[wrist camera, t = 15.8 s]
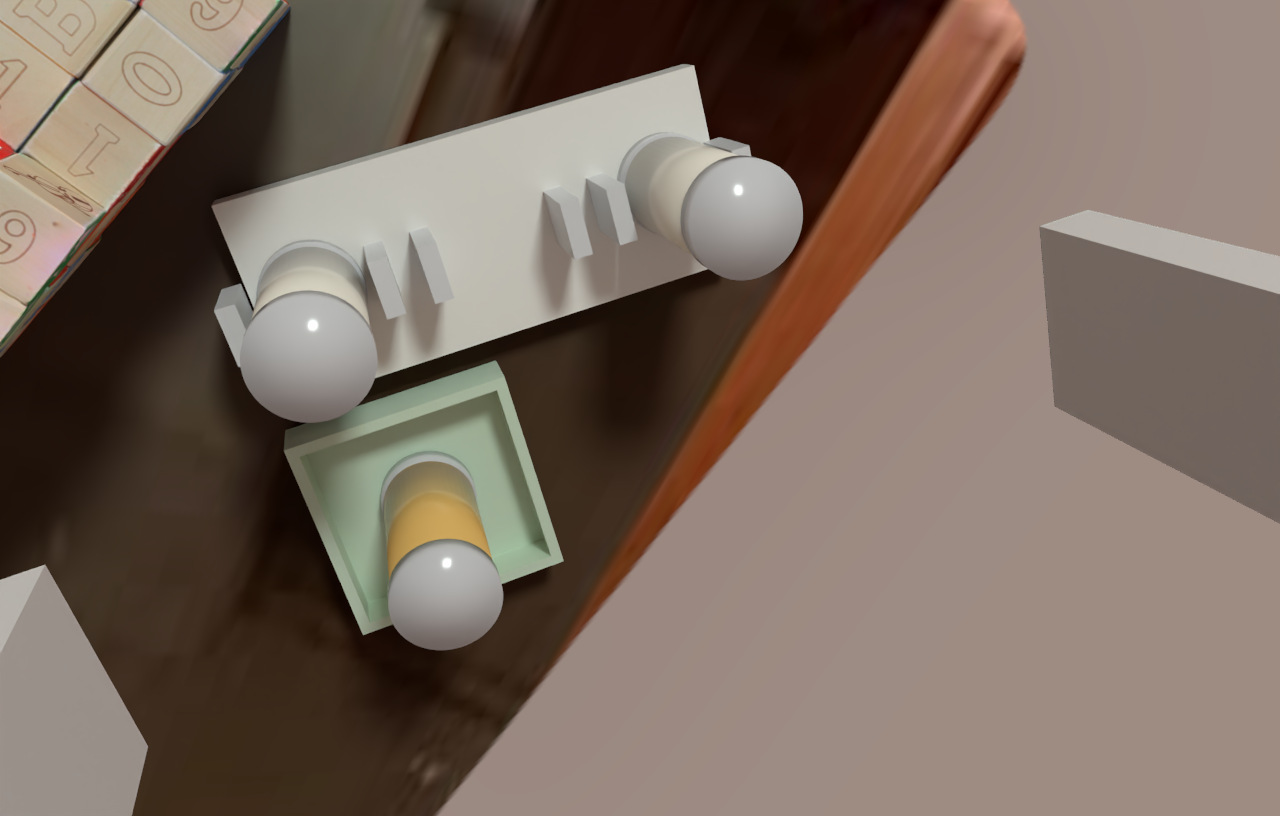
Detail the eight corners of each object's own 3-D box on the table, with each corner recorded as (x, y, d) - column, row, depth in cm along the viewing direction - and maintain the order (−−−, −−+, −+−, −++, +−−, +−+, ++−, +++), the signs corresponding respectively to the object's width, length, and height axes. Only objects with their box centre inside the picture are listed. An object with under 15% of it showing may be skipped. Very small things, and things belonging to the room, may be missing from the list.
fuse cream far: (630, 243, 47) (703, 295, 38) (605, 147, 45) (677, 178, 36) (719, 215, 48) (811, 259, 39) (698, 120, 46) (791, 143, 37)
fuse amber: (366, 470, 48) (371, 576, 39) (457, 437, 49) (482, 534, 40) (400, 548, 50) (412, 666, 41) (486, 515, 50) (517, 625, 41)
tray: (361, 608, 51) (362, 635, 49) (285, 430, 47) (283, 450, 45) (553, 538, 53) (563, 561, 50) (495, 360, 49) (504, 376, 46)
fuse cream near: (283, 355, 44) (272, 441, 35) (240, 259, 43) (217, 323, 34) (382, 321, 45) (396, 396, 36) (344, 225, 43) (349, 279, 34)
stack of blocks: (155, -117, 39) (90, -173, 28) (295, 7, 42) (286, 1, 30) (-193, 310, 40) (-386, 419, 29) (-36, 404, 43) (-159, 536, 32)
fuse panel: (275, 399, 46) (270, 440, 42) (192, 206, 43) (178, 228, 38) (733, 250, 50) (774, 272, 46) (693, 61, 47) (733, 65, 42)
